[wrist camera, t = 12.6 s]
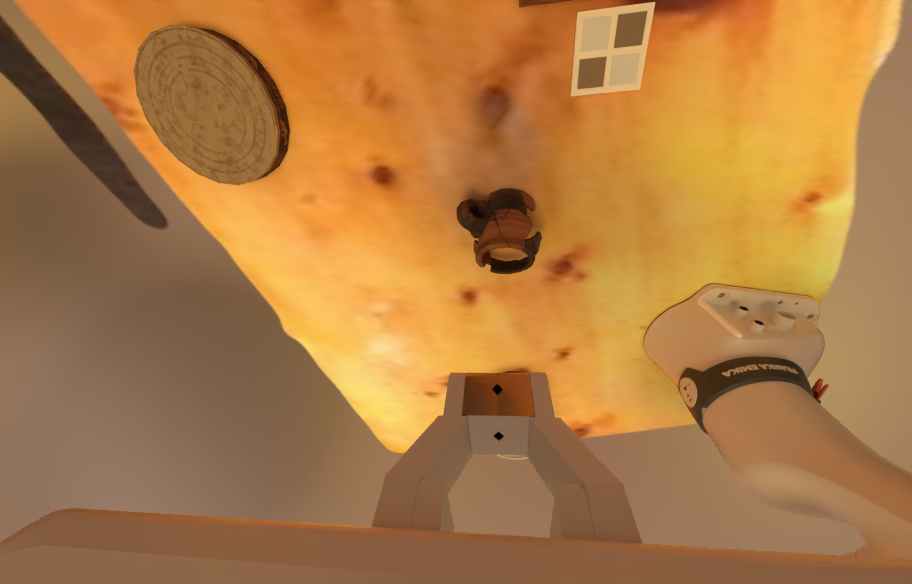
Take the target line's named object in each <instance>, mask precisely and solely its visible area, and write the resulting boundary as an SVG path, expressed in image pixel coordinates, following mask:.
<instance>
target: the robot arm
mask: <svg viewBox="0 0 912 584" xmlns="http://www.w3.org/2000/svg"><path fill="white" fill-rule="evenodd" d="M721 293H722V294H721ZM719 294H720V295H719ZM819 315H820V308H819V304H818V302H817V301H816V300H815V299H814V298H813V297H809V296H803V295H795V294H787V293H780V292H772V291H765V290H757V289H749V288H742V287H734V286H727V285H719V284H711V285H708V286H706V287H704V288H703V289H701V290H700V291H699V292H698V293H696V294H695V295H694V296H693V297H692V298H691V299H689V300H687V301H685V302H683V303H681V304H679V305H676V306H674V307H673V308H671V309H669V310H667V311H666V312H665V313H663V314H662V315H661V316H659V317H658V318H657V319H656V320H655V321H654V322H653V323H652V325H651V326H650V328H649V329H648V331H647V333H646V336H645V339H644V349H645V352H646V354H647V356H648V357H649V358H650V359H651V360H652V361H653V362H654V363H655V364H656V365H657V366H659V367H660V368H661V369H662V370H663V371H664V372H665V373H666V374H667V376H668V377H669V378H670V379H671V380H672V381H673V383H674V384H675V385H676V386H677V388H678V389H679V391H680V394H681V396H682V398H683V400H684V402H685V404H686V406H687V407H688V409H689V411H690V412H691V414H692V415H693V417H694V418H695V420H696V422H697V423H698V425H699V426H700V427H701V429H702V430H703V431H704V432H705V433H707V434H708V435H709V436H710V437H711V439H712V441H713V442H714V444H715V446H716V447H717V449H718V450H719V452H720V454H721V455H722V457H723V459H724V460H725V462H726V464H727V465H728V467H729V468H730V470H731V472H732V473H733V475H734V476H735V478H736V480H737V481H738V483H739V484H740V485H741V486H742V487H743V488H744V489H745V490H746V491H747V492H748V493H749V494H750V495H752V496H753V497H754V498H756V499H757V500H759V501H760V502H762V503H764V504H766V505H768V506H770V507H773V508H776V509H778V510H782V511H785V512H789V513H793V514H797V515H803V516H809V517H817V518H825V519H831V520H836V521H840V522H843V523H847V524H850V525H852V526H853V527H854V529H855V530H856V531H857V532H858V533H859V535H860V536H861V537H862V539H863V541H864V545H863V547H861V548H859V549H857V550H856V551H855V552H851V553H847V554H843V555H839V556H837V555H819V554H805V553H804V554H803V553H788V552H772V551H756V550H740V549H724V548H708V547H692V546H676V545H659V544H644V543H642V541H641V538H640V535H639V532H638V529H637V525H636V522H635V520H634V516H633V514H632V510H631V507H630V504H629V501H628V498H627V495H626V492H625V489H624V485H623V484H622V483H621V482H620V481H619V480H618V479H617V478H616V477H615V475H614V474H613V473H612V472H611V471H610V470H609V469H608V468H607V467H606V466H605V465H604V464H603V463H602V462H601V461H600V460H599V459H598V458H597V457H596V455H595V454H594V453H593V452H592V451H591V450H590V449H589V448H588V447H587V446H586V445H585V444H584V443H583V442H582V441H581V440H580V438H579V437H578V436H577V435H576V434H575V433H574V432H573V431H572V430H571V429H570V428H569V427H568V426H567V425H566V424H565V423H564V422H563V420H562V419H561V418H555V416H554V410H553V405H552V400H551V395H550V389H549V384H548V379H547V375H546V373H450V375H449V380H448V387H447V394H446V401H445V408H444V414H443V416H438V417H437V418H436V419H435V420H434V421H433V423H432V424H431V425H430V426H429V427H428V428H427V429H426V430H425V431H424V433H423V434H422V435H421V436H420V437H419V438H418V439H417V440H416V441H415V443H414V444H413V445H412V446H411V447H410V448H409V449H408V450H407V451H406V453H405V454H404V455H403V456H402V457H401V458H400V459H399V460H398V461H397V463H396V464H395V465H394V466H393V467H392V468H391V469H390V470H389V471H388V473H387V474H386V476H385V479H384V483H383V487H382V490H381V494H380V498H379V502H378V506H377V509H376V512H375V516H374V520H373V524H372V527H368V526H352V525H336V524H319V523H304V522H288V521H272V520H256V519H240V518H224V517H207V516H191V515H175V514H160V513H144V512H127V511H111V510H110V511H109V510H94V509H81V508H71V509H61V510H57V511H54V512H51V513H49V514H47V515H46V516H44V517H42V518H40V519H39V520H36V521H35V522H33V523H31V524H29V525H27V526H26V527H24V528H22V529H21V530H19V531H17V532H16V533H14V534H13V535H11V536H9V537H8V538H6V539H4V540H3V541H1V542H0V584H912V473H911V472H909V471H907V470H905V469H903V468H902V467H899V466H898V465H896V464H894V463H893V462H891V461H889V460H888V459H886V458H885V457H883V456H882V455H880V454H878V453H877V452H876V451H874V450H873V449H872V448H870V447H869V446H867V445H866V444H865V443H864V442H862V441H861V440H860V439H859V438H858V437H856V436H855V435H854V434H853V433H851V432H850V431H849V430H848V429H847V428H846V427H845V426H843V425H842V424H841V423H840V422H839V421H838V420H837V419H835V418H834V417H833V416H832V415H831V414H830V413H829V412H828V411H826V409H825V408H823V407H822V406H821V405H820V403H821V401H820V400H819V399H820V398H821V396H822V395H823V394H824V392H825V391H826V389H827V388H828V386H829V385H828V384H826V385H825V386H824V387H823V388H822V389H821V387H822V382H823V379H818V381H817V382H816V383H815V385H814V386H813V388H812V389H811V387H810V385H809V382H808V380H807V378H808V376H809V375H810V374H811V372H812V371H813V369H814V368H815V366H816V365H817V363H818V361H819V360H820V358H821V356H822V353H823V350H824V337H823V335H822V333H821V332H820V330H819V329H818V328H817V327H816V325H817V323H818V319H819ZM820 389H821V390H820ZM499 453H500V455H517V456H528V458H529V460H530V462H531V463H532V464H533V466H534V468H535V469H536V471H537V472H538V474H539V475H540V477H541V478H542V479H543V481H544V482H545V484H546V486H547V487H548V489H549V490H550V492H551V493H552V495H553V497H554V505H553V513H552V520H551V527H550V538H547V537H530V536H515V535H514V536H513V535H499V534H482V533H465V532H454V524H453V519H452V515H451V510H450V505H449V501H448V493H449V492H450V490H451V488H452V487H453V485H454V484H455V482H456V480H457V479H458V477H459V476H460V474H461V473H462V471H463V469H464V468H465V466H466V464H467V463H468V461H469V460H470V458H471V457H472V454H499Z"/></svg>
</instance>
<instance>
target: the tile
mask: <svg viewBox="0 0 912 584" xmlns="http://www.w3.org/2000/svg"><path fill="white" fill-rule="evenodd" d="M654 7H655V2H650V3H643V4H635V5H627V6H620V7H612V8H605V9H597V10H589V11H582V12H577V15H576V27H575V40H574V52H573V65H572V78H571V90H570V96H580V95H590V94H600V93H610V92H620V91H630V90H640V86H641V81H642V75H643V69H644V64H645V58H646V52H647V47H648V41H649V35H650V30H651V24H652V18H653V12H654Z"/></svg>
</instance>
